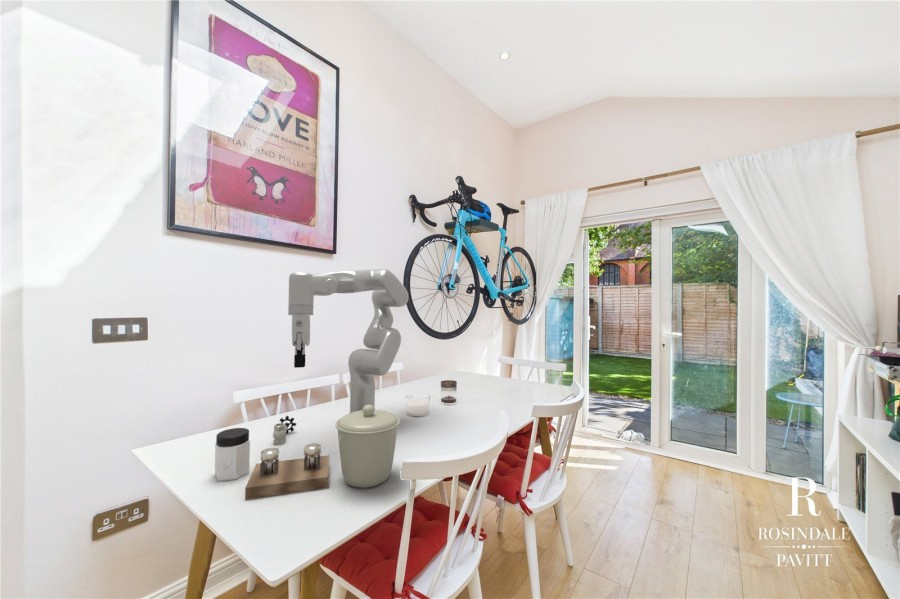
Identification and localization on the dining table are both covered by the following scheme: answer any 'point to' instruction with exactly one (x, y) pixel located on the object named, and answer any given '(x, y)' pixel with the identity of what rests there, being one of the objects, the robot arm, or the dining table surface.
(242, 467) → the jar
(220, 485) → the dining table surface
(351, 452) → the canister
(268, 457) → the knob
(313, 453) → the knob
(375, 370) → the robot arm
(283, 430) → the valve
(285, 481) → the mount board
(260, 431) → the dining table surface
